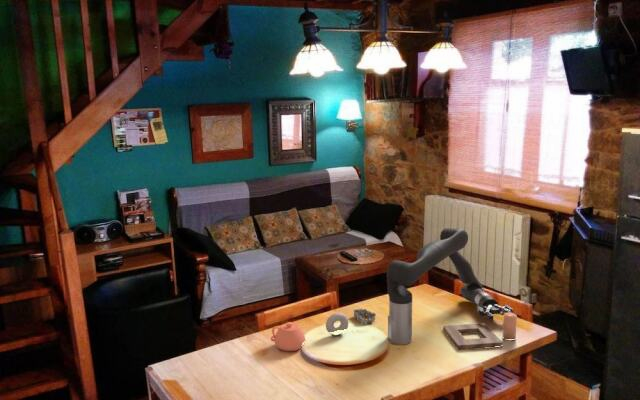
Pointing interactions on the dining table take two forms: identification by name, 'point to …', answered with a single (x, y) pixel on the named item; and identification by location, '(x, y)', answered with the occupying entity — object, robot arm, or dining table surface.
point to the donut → (333, 319)
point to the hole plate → (463, 344)
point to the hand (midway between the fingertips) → (502, 317)
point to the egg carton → (361, 315)
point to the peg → (509, 325)
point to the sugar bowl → (288, 337)
